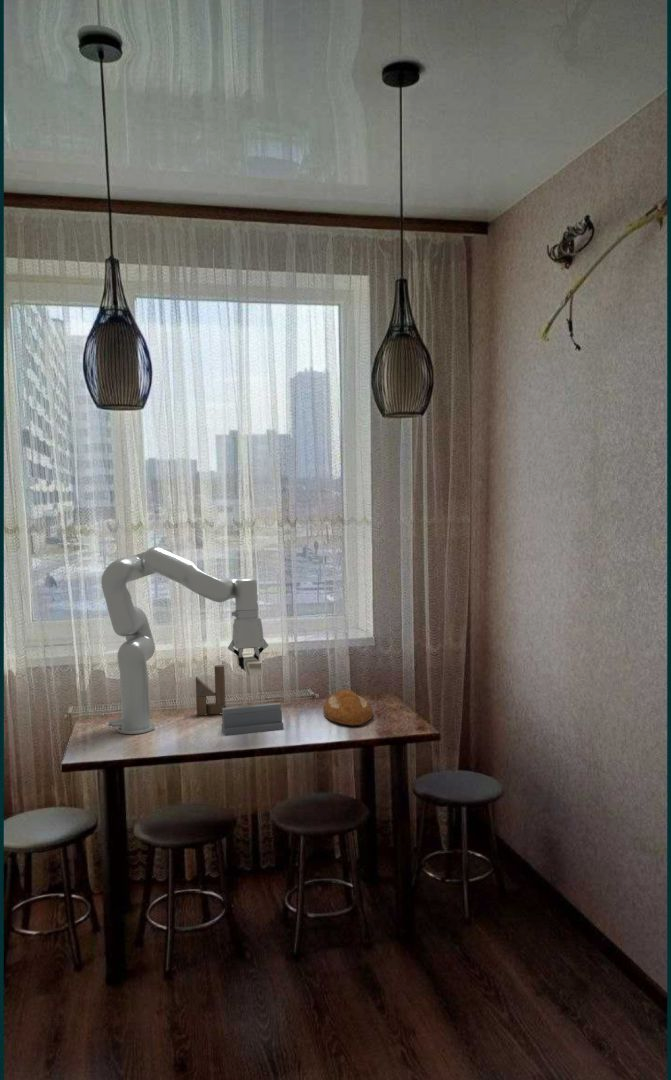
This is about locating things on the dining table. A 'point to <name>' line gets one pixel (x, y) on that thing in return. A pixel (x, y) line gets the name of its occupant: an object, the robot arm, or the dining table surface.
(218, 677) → the wooden block
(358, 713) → the bread
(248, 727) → the ridge block
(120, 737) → the dining table surface
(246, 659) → the birch bar
